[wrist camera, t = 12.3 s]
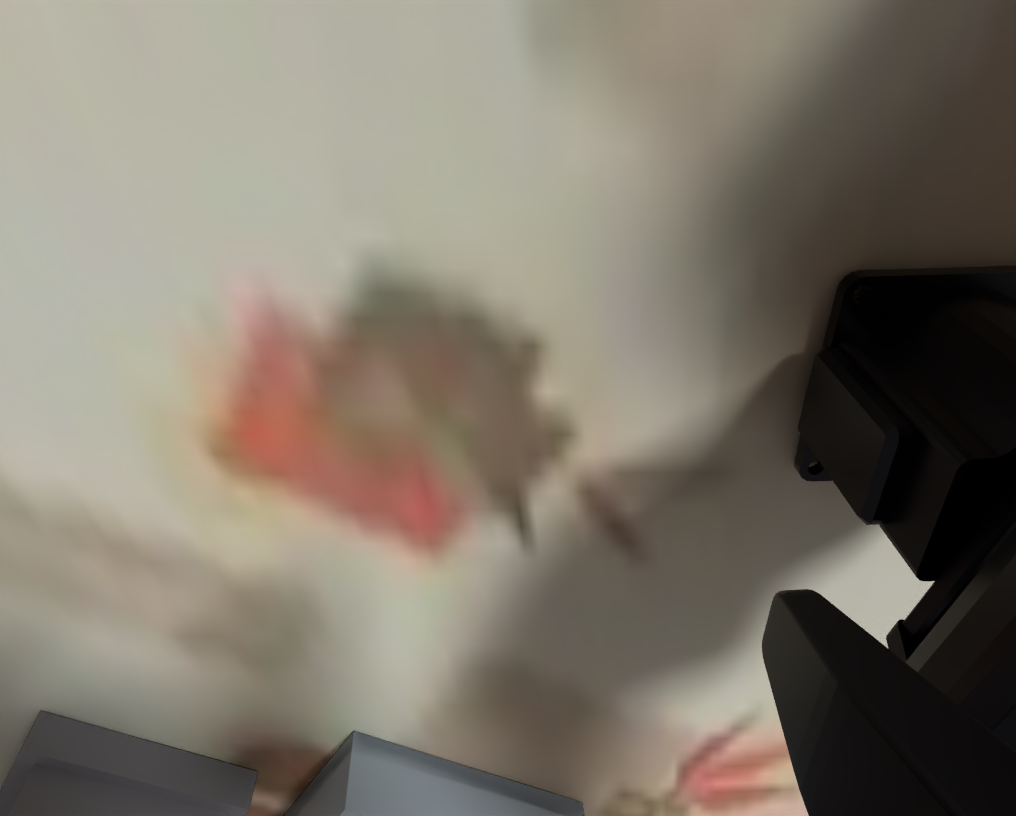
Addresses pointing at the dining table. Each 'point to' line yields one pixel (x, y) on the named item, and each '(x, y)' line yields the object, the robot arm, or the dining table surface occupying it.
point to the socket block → (117, 776)
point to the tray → (417, 787)
